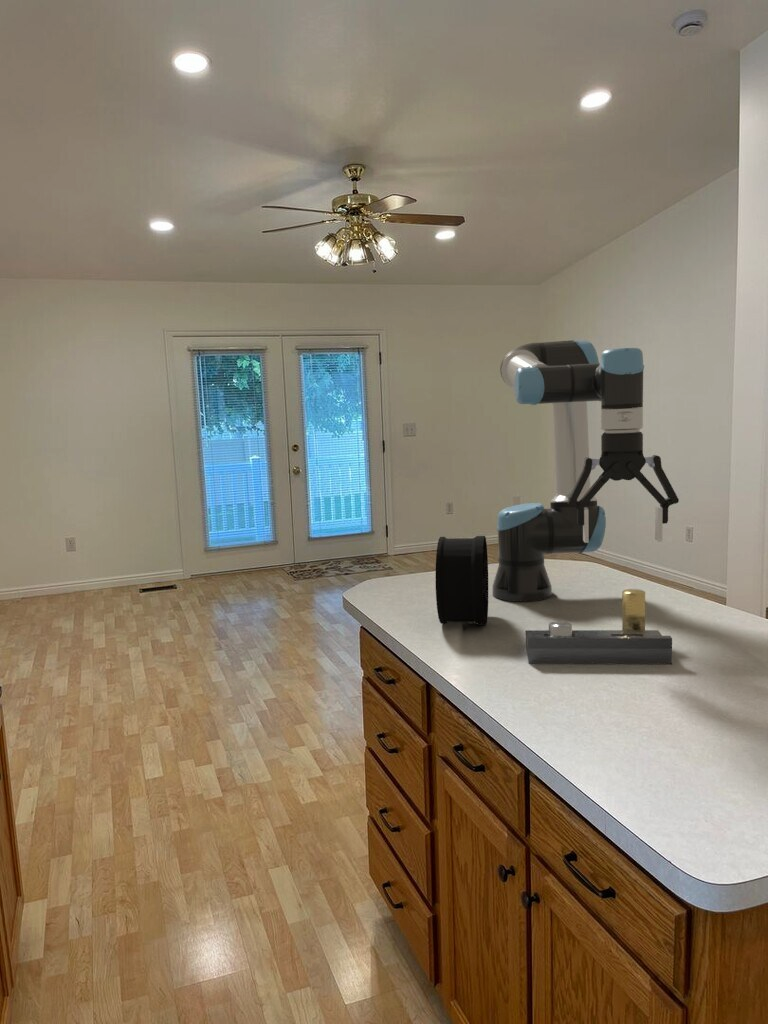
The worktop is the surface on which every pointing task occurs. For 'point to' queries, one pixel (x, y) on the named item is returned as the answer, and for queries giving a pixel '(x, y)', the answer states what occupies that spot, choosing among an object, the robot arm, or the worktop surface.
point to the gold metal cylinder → (633, 609)
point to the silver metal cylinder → (560, 628)
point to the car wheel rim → (462, 580)
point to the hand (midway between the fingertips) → (621, 541)
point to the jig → (599, 647)
